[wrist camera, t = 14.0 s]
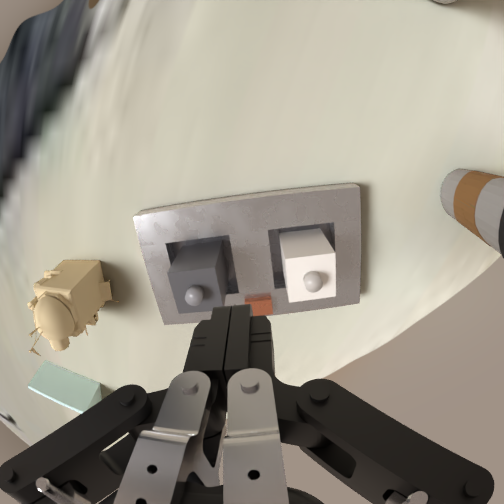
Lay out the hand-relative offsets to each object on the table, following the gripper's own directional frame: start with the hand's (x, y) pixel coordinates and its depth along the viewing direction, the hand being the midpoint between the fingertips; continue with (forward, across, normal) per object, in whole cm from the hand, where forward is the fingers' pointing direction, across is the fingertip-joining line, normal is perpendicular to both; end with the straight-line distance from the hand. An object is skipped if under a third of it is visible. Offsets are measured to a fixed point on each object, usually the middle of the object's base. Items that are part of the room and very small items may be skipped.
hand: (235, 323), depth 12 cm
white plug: (+22, -5, +7) cm, 23 cm away
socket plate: (+22, +1, +7) cm, 23 cm away
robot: (+22, +24, +9) cm, 34 cm away
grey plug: (+21, +6, +7) cm, 23 cm away
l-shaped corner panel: (+21, +38, +31) cm, 54 cm away
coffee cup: (+23, -26, +2) cm, 35 cm away
